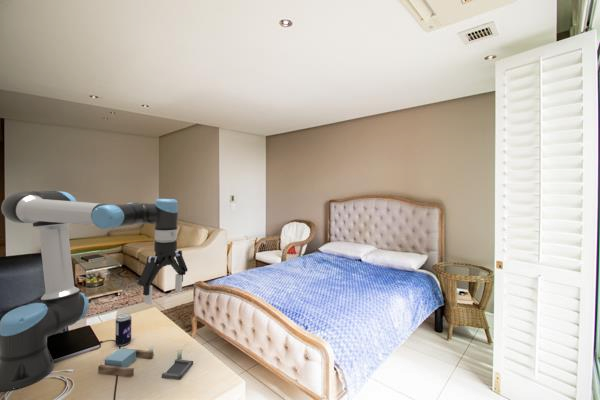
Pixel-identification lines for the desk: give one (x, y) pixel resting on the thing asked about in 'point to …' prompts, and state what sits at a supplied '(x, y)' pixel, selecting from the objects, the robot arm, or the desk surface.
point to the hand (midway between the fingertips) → (164, 296)
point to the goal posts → (179, 352)
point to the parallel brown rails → (124, 370)
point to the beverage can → (123, 329)
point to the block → (121, 358)
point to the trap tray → (178, 369)
